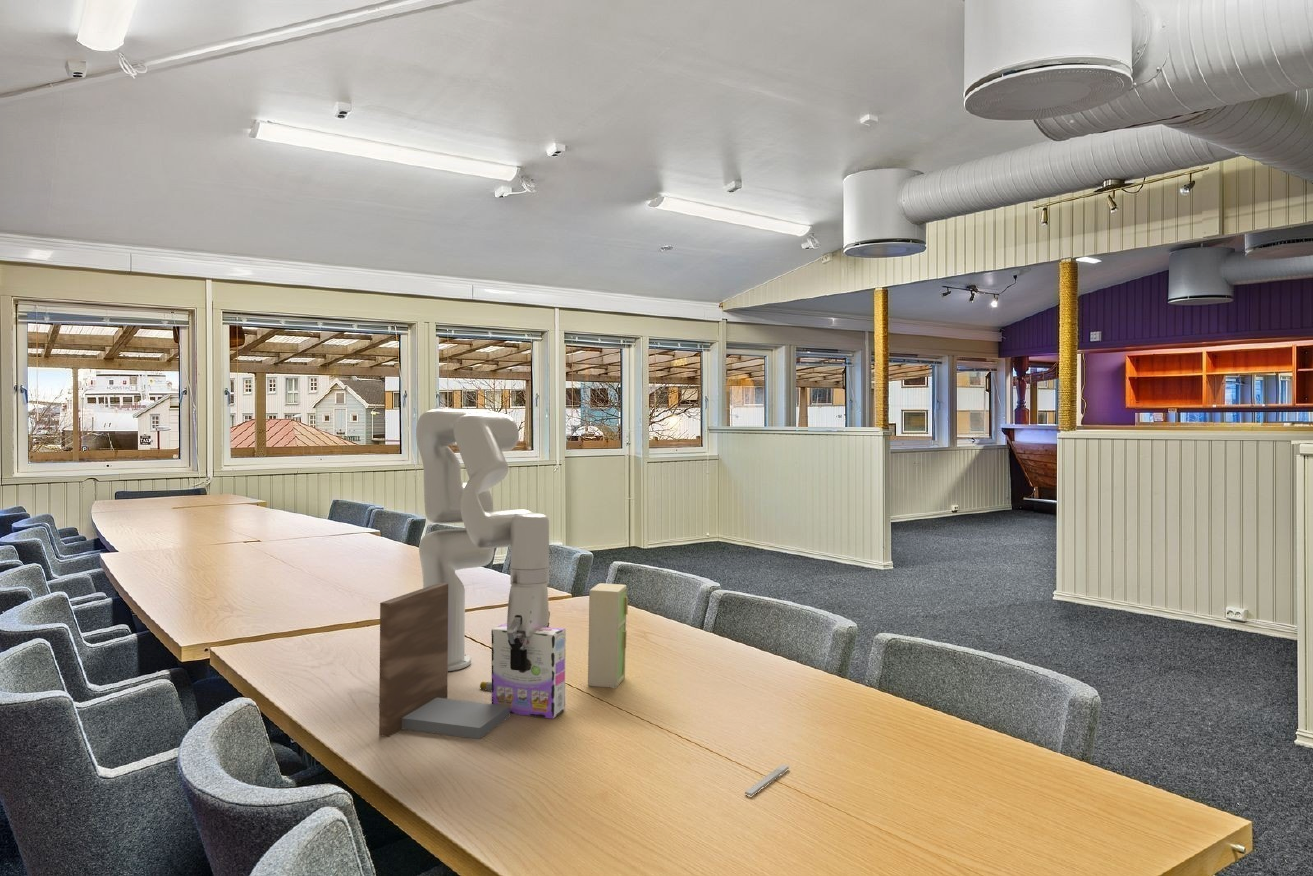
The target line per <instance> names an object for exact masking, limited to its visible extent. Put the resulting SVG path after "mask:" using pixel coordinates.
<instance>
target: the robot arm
mask: <svg viewBox="0 0 1313 876" xmlns="http://www.w3.org/2000/svg"><path fill="white" fill-rule="evenodd" d="M415 435H416V436H415V437H416V445H417V449H418V451H419V455H420V457H421V461H422V466H423V467H422V468H423V497H424V498H423V500H424V512H425V515H426V518H427V520H428V521H429V522H430V523H431V524H437V525H438V524H439V525H445V524H460V523H461V524H464V528H451V529H450V528H449V529H448V528H447V529H438V530H434V531H431V532H428V533H426V534H425V535H424V536H422V538H421V540H420V542H419V546H418V553H419V560H420V565H421V574H422V589H423V588H426V587H429V586H432V585H435V584H438V583H448V672H453V671H458V670H461V669H464V668H466V667H469V666H470V665H471V663H472V657H471V656H470V655H469V654H465V647H466V646H465V643H466V642H465V637H466V635H465V633H466V632H465V631H466V629H465V627H466V626H465V625H466V624H465V623H466V621H465V620H466V619H465V618H466V589H465V585H464V583H463V582H462V580H461V579H460V577H459V576H458V575H457V573H456V571H458V570H463V569H464V570H465V569H473V568H481V567H482V568H483V567H484V566H487V565H489V564H490V563H491V562H492V560H493V558H494V555H495V549H497V548H498V549H499V548H510V561H509V562H510V563H509V564H510V569H509V570H510V582H509V584H510V588H509V593H508V601H507V603H508V604H507V616H506V619H507V620H506V623H507V635H508V639H509V640H508V643H509V649H510V668H511V670H519V671H525V670H526V669H527V649H525V646H526V643H527V639H528V638H530V637H532V636H533V633H534V632H536V631H537V630H539V629H540V628H542V627H550V616H551V611H550V610H549V609H550V607H549V591H548V585H549V584H550V520H549V517H548V516H547V515H546V514H543V513H539V512H533V511H531V510H528V509H522V508H521V509H499V510H494V504H493V497H492V493H491V491H490V489H491V488H492V487H494V486H497V485H498V484H499V483H501V482H502V481H503V480H504V479H505V478H506V477H507V475H508V473H509V464H508V462H507V460H506V458H505V455H504V453H503V452H509V451H512V450H513V449H514V448H516V446H517V445H518V443H519V438H520V433H519V427H518V425H517V423H516V421H515V420H514V419H513V417H512V416H510V415H508V414H506V413H501V412H498V411H497V412H496V411H492V410H488V409H487V410H485V409H462V408H460V409H459V408H436V409H429V410H427V411H424V412H423V413H421V415H420V416H419V417H418V420H417V422H416V429H415ZM450 446H457V449H458V451H459V454H460V457H461V460H462V462H463V464H464V467H465V470H466V472H467V476H468V477H469V479H468V480H467V482H463V481H462V476H461V475H462V471H461V462H460V461H459V458H458V457H457V455H456V454H455V452H454V451H453V450H452V449H451V448H450ZM518 632H519V633H518ZM519 638H521V639H522V641H521V642H520V640H519Z"/></svg>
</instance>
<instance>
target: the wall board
mask: <svg viewBox="0 0 1313 876" xmlns="http://www.w3.org/2000/svg"><path fill="white" fill-rule="evenodd" d="M448 672H449V671H448V583H438V584H435V585H432V586H429V587H426V588H423V587H422V588H420V589H418V590H414V591H411V592H408V593H406V594H405V593H404V594H402V595H400V596H396V597H394V598H391V599H390V598H389V599H388V600H385V601H382V602H379V685H378V687H379V698H378V699H379V703H378V704H379V705H378V706H379V708H378V712H379V713H378V717H379V719H378V723H379V724H378V736H381V737H390V736H393V735H394V734H396V733H397V732H399V731H401V730H403V729H402V718H403V717H404V716H406V715H408V714H409V713H411V712H413V711H415V710H416V709H418V708H420V707H421V706H423V705H425V704H426V703H428V702H430V701H432V700H433V699H435V698H446V699H448V674H449V673H448Z"/></svg>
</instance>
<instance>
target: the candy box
mask: <svg viewBox="0 0 1313 876" xmlns="http://www.w3.org/2000/svg"><path fill="white" fill-rule="evenodd" d="M518 633H519V632H518ZM508 640H509V639H508V635H507V622H505V623H503V624H501V625H498V626H496V627H495V628H492V629H491V682H492V691H491V704H497V705H505V706H510V714H514V715H519V714H520V716H530V717H538V718H544V719H555V718H556V717H557V716H559V715H560V714H562V713H563V712H565V711H566V628H564V627H563V628H562V627H550V626H549V627H542V628H540V629H539V630H537V631H536V632H534V633H533V636H532V637H530V638H528V639H527V643H526V646H525V649H527V669H526V670H525V671H519V670H511V668H510V649H509V643H508ZM519 640H520V642H521V641H522V639H521V638H519Z"/></svg>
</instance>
